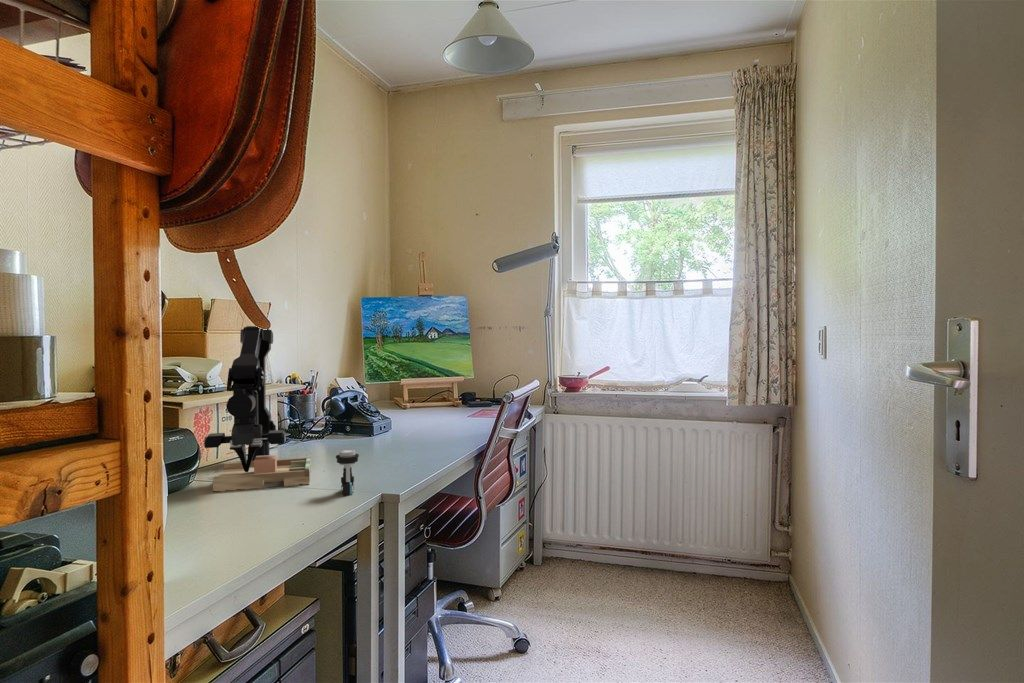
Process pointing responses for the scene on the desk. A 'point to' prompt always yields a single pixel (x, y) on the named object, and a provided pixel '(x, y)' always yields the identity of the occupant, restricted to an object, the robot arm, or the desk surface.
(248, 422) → the robot arm
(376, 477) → the desk surface
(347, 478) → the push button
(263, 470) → the block
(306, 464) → the board
